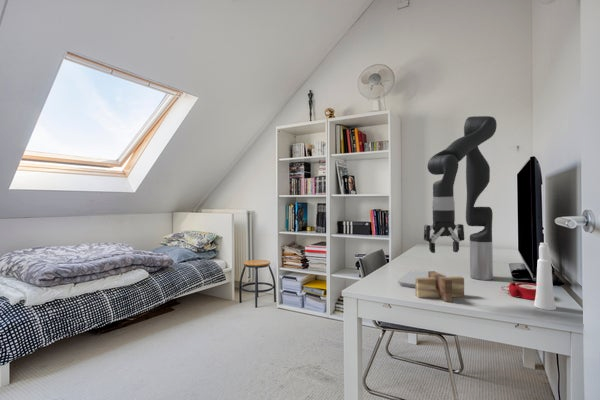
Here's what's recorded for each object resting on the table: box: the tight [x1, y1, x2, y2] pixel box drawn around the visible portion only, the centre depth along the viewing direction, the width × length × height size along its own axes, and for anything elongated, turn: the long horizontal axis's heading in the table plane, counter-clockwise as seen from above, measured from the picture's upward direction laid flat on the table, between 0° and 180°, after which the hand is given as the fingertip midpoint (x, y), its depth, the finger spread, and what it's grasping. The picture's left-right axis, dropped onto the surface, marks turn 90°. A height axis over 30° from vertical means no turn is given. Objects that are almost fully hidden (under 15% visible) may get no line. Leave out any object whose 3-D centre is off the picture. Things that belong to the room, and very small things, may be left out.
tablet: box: [397, 269, 447, 289], centre depth 146 cm, size 16×26×2 cm, turn 146°
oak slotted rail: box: [415, 275, 465, 299], centre depth 125 cm, size 2×18×7 cm, turn 92°
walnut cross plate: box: [428, 270, 453, 303], centre depth 124 cm, size 14×2×8 cm, turn 2°
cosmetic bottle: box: [533, 242, 557, 311], centre depth 110 cm, size 6×6×22 cm
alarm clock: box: [500, 282, 537, 301], centre depth 123 cm, size 10×6×15 cm
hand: (444, 252), depth 120 cm, fingers open, 8 cm apart
